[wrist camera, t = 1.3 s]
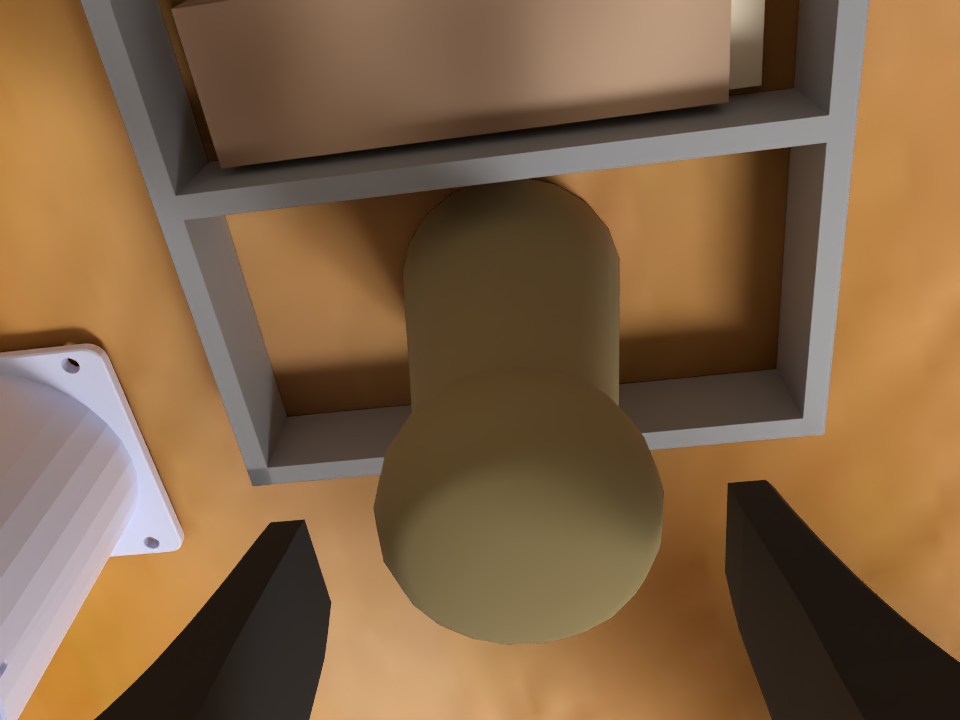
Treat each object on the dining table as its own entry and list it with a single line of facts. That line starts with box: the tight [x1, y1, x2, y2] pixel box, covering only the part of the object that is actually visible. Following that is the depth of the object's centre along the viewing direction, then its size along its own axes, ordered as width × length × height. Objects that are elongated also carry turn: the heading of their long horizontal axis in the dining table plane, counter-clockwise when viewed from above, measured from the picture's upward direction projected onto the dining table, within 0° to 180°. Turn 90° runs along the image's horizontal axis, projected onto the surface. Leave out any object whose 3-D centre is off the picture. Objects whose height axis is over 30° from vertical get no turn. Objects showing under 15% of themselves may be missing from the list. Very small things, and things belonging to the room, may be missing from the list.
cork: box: [374, 178, 664, 645], centre depth 18 cm, size 6×6×11 cm
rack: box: [80, 0, 869, 486], centre depth 21 cm, size 16×14×2 cm
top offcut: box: [171, 0, 731, 168], centre depth 19 cm, size 12×4×1 cm, turn 98°
